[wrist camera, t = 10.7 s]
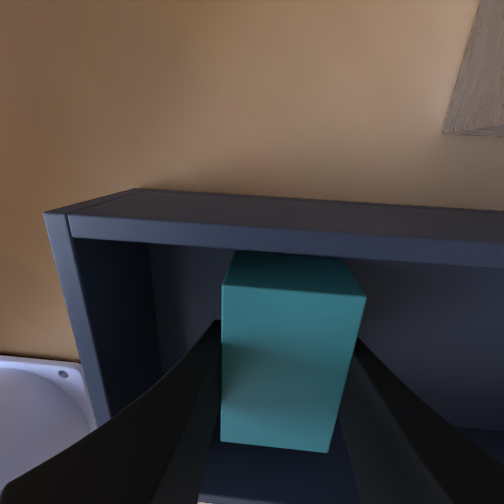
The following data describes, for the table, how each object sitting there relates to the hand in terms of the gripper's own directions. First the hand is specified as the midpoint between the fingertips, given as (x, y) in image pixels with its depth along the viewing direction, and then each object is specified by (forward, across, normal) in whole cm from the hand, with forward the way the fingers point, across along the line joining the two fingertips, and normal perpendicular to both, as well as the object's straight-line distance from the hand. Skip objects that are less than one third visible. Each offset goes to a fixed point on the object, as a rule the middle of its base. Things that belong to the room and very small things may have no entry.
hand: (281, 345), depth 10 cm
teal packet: (+1, 0, 0) cm, 1 cm away
